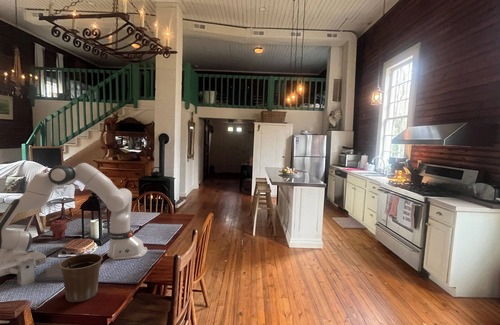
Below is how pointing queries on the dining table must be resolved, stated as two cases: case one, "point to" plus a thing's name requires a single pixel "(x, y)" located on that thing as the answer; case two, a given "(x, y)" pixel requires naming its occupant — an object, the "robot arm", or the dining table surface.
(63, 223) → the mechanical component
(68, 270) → the plant pot
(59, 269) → the steel plate
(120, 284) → the dining table surface
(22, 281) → the off-white rectangular block
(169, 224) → the dining table surface
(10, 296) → the dining table surface
